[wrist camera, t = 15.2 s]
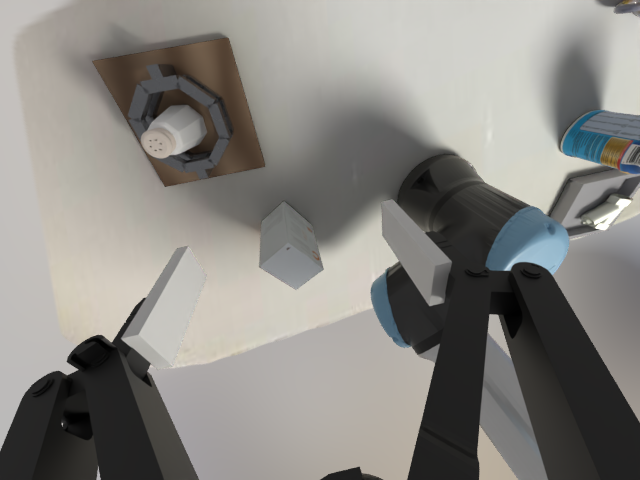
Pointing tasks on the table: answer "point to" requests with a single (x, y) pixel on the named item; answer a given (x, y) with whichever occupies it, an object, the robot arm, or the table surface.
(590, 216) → the pipe fitting
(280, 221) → the small box
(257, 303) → the table surface
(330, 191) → the table surface
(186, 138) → the pepper shaker
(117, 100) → the collar base
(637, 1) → the mug
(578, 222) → the parts tray
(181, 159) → the collar frame
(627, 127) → the beverage bottle
